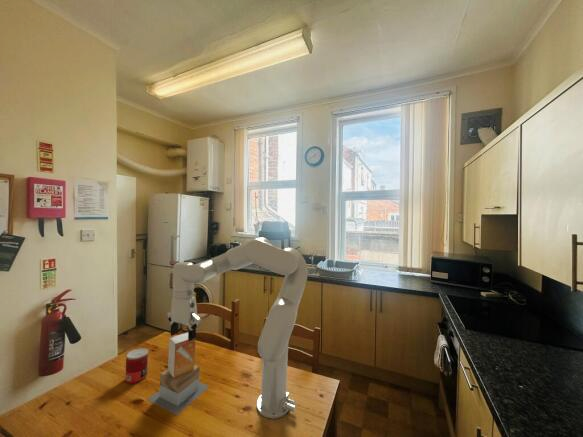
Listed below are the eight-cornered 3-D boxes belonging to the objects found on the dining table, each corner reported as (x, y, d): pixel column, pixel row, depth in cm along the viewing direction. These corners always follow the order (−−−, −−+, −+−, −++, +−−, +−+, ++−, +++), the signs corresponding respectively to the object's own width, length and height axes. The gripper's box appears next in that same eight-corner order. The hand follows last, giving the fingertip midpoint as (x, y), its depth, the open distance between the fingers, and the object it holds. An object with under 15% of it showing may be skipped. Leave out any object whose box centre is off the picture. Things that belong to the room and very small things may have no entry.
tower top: (199, 377, 95) (199, 366, 95) (178, 393, 86) (178, 381, 86) (181, 370, 100) (182, 359, 100) (159, 385, 91) (160, 373, 91)
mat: (209, 387, 97) (209, 386, 97) (176, 416, 82) (176, 415, 82) (182, 376, 104) (182, 374, 104) (146, 400, 89) (146, 399, 89)
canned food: (145, 382, 99) (146, 356, 99) (122, 386, 96) (123, 359, 96) (148, 371, 106) (149, 346, 106) (127, 374, 103) (128, 349, 103)
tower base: (198, 388, 95) (199, 377, 95) (177, 406, 86) (178, 393, 86) (181, 381, 100) (181, 370, 100) (159, 396, 90) (159, 385, 91)
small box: (173, 378, 88) (174, 343, 88) (167, 370, 92) (168, 337, 92) (194, 369, 94) (196, 336, 94) (188, 362, 98) (189, 331, 98)
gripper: (206, 293, 93) (206, 337, 93) (176, 288, 100) (176, 328, 100) (191, 299, 86) (191, 346, 86) (160, 293, 94) (159, 336, 93)
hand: (183, 336), depth 93 cm, fingers open, 9 cm apart
